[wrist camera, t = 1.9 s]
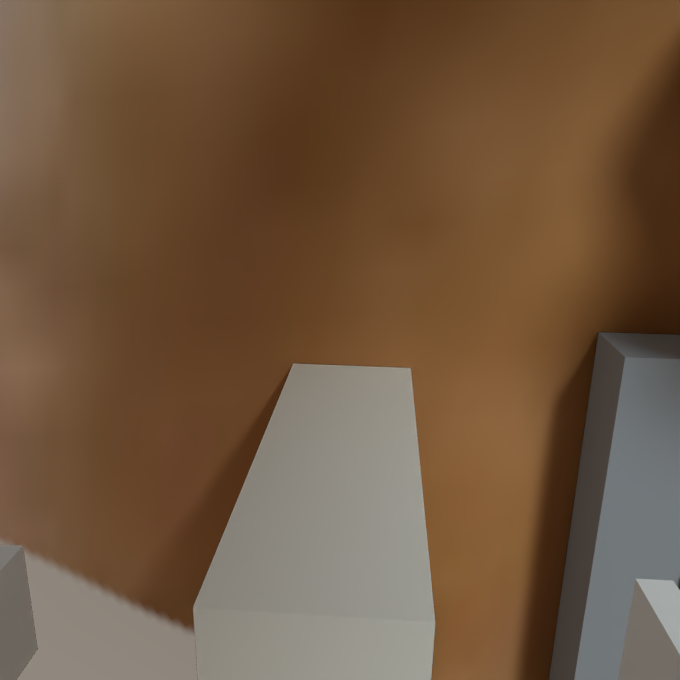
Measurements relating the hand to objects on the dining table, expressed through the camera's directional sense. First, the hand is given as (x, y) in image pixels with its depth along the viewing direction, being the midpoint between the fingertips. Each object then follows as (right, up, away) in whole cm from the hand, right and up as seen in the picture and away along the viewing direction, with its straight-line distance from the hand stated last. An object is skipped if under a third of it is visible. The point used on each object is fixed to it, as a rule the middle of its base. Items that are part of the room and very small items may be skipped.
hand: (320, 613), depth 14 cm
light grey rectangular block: (+1, +3, +9) cm, 9 cm away
